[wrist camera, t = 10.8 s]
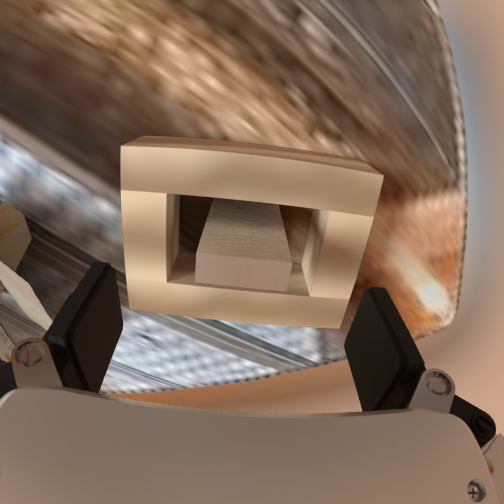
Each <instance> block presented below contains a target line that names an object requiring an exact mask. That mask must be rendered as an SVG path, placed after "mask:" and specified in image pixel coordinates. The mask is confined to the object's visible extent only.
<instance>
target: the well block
mask: <svg viewBox="0 0 504 504" xmlns="http://www.w3.org/2000/svg"><path fill="white" fill-rule="evenodd" d="M383 178H384V175H382V174H381V173H380V172H378V171H377V170H375V169H374V168H372V167H371V166H369V165H368V164H366V163H365V162H363V161H362V160H357V159H352V158H347V157H341V156H336V155H330V154H324V153H318V152H312V151H305V150H299V149H292V148H285V147H277V146H269V145H261V144H252V143H243V142H233V141H222V140H211V139H197V138H182V137H162V136H142V137H140V138H138V139H135V140H133V141H131V142H129V143H127V144H124V145H122V146H121V209H122V230H123V246H124V259H125V271H126V281H127V290H128V299H129V307H130V309H133V310H140V311H148V312H155V313H162V314H170V315H178V316H187V317H195V318H204V319H214V320H224V321H234V322H245V323H257V324H270V325H283V326H299V327H317V328H338V329H339V328H340V325H341V322H342V320H343V317H344V314H345V311H346V308H347V305H348V302H349V299H350V296H351V293H352V290H353V287H354V284H355V281H356V277H357V274H358V271H359V268H360V264H361V261H362V258H363V254H364V251H365V247H366V244H367V240H368V237H369V233H370V230H371V226H372V222H373V218H374V215H375V211H376V207H377V203H378V199H379V195H380V191H381V186H382V182H383ZM180 194H181V195H193V196H204V197H215V198H225V199H235V200H245V201H254V202H263V203H272V204H281V205H289V206H297V207H305V208H313V210H312V216H311V221H310V226H309V230H308V235H307V240H306V245H305V250H304V254H303V259H302V264H301V265H300V264H292V268H291V273H290V277H289V282H288V287H287V291H275V290H265V289H254V288H244V287H234V286H224V285H215V284H205V283H196V282H195V271H196V254H190V253H180V252H179V214H180Z"/></svg>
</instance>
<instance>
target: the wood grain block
mask: <svg viewBox="0 0 504 504" xmlns="http://www.w3.org/2000/svg"><path fill="white" fill-rule="evenodd" d="M291 268H292V258H291V254H290V250H289V246H288V241H287V237H286V233H285V229H284V225H283V221H282V217H281V213H280V209H279V205H278V204H272V203H263V202H254V201H245V200H235V199H225V198H215V197H214V199H213V202H212V205H211V208H210V211H209V214H208V217H207V220H206V223H205V227H204V230H203V233H202V236H201V239H200V242H199V246H198V249H197V252H196V271H195V282H196V283H205V284H215V285H224V286H234V287H244V288H254V289H265V290H275V291H287V287H288V282H289V277H290V273H291Z"/></svg>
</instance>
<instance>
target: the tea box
mask: <svg viewBox="0 0 504 504" xmlns="http://www.w3.org/2000/svg"><path fill="white" fill-rule="evenodd" d="M14 347H15V346H14V344H13V343H12V341H11V340H10V339H9V337H8V336H7V334H6V333H5V332H4V330H3V329H2V327H1V326H0V365H3V364H5V363H7V362H10V361H11V353H12V350H13V348H14Z"/></svg>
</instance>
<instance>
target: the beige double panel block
mask: <svg viewBox="0 0 504 504" xmlns="http://www.w3.org/2000/svg"><path fill="white" fill-rule="evenodd" d="M31 240H32V237H31V234H30V231H29V229H28V226H27V223H26V220H25V217H24V215H23V214H22V213H21V212H19V211H18V210H17V209H15V208H14V207H13V206H11V205H10V204H8V203H7V202H6V201H5V202H3V203H2V204H1V205H0V294H1V295H2V292H3V290H4V287H6V289H7V290H8V291H9V293H10V294H11V295H12V296H13V298H14V299H15V301H16V302H17V303H18V305H19V306H20V307H21V309H22V310H23V311H24V313H25V314H26V315H27V316H28V317H29V318H30V319H31V320H33V321H34V322H36V323H37V324H39V325H40V326H41V327H43V328H44V329H45V330H48V329H49V327H50V325H51V324H52V320H51V318H50V317H49V316H48V314H47V313H46V311H45V310H44V307H43V306H42V305H41V303H40V301H39V299H38V298H37V296H35V294H34V292H33V289H32V288H31V286H30V285H29V284H28V283H27V282H26V281H25V280H24V279H22V278H21V277H20V276H18V275H17V274H16V273H15V271H16V269H17V267H18V265H19V263H20V261H21V259H22V257H23V255H24V253H25V251H26V249H27V247H28V246H29V244H30V242H31Z"/></svg>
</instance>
